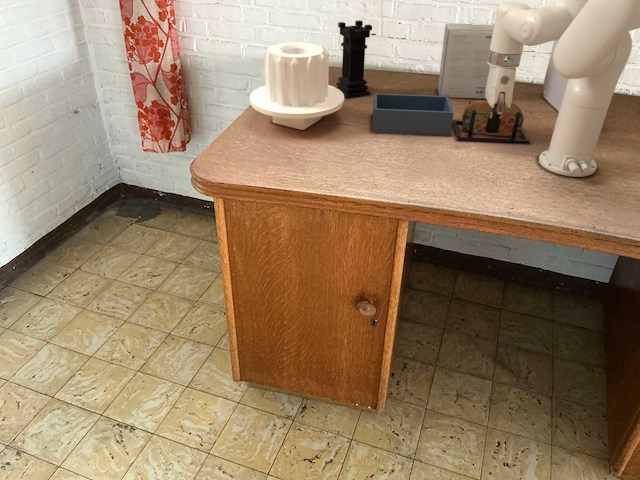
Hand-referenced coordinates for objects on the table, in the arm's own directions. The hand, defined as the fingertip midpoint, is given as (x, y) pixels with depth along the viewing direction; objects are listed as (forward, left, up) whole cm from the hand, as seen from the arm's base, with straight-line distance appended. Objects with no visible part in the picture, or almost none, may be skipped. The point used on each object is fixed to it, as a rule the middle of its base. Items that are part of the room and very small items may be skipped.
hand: (490, 128), depth 141 cm
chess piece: (+27, +37, -1) cm, 46 cm away
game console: (+18, -25, -1) cm, 31 cm away
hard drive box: (+29, +3, -1) cm, 29 cm away
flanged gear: (+3, +51, -1) cm, 51 cm away
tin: (0, 0, -1) cm, 1 cm away
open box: (+3, +21, -1) cm, 21 cm away
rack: (0, 0, -1) cm, 1 cm away
